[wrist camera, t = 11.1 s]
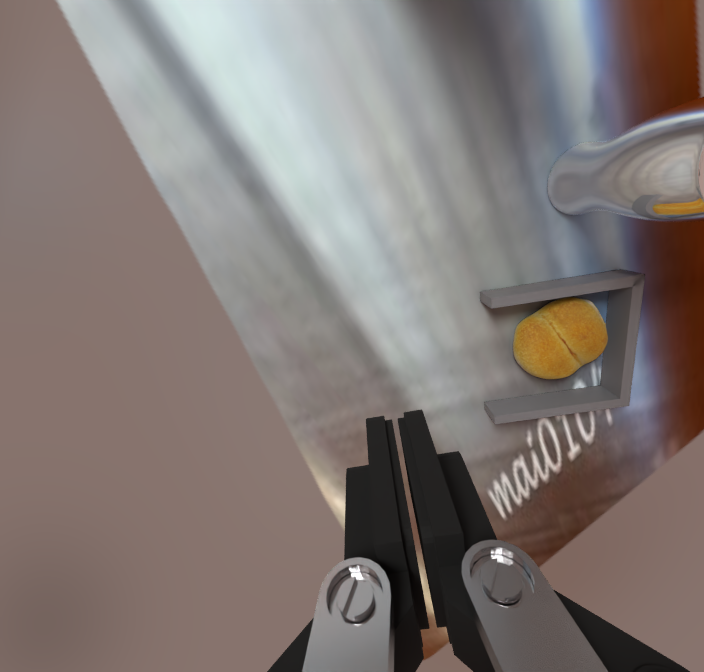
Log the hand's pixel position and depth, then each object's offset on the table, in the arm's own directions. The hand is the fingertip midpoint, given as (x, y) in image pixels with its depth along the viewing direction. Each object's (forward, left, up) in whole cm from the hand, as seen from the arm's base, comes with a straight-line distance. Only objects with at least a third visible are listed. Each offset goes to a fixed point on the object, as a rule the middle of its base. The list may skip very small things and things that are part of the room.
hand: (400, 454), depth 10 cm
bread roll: (+9, +19, -26) cm, 34 cm away
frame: (+10, +18, -26) cm, 33 cm away
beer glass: (-6, +21, -26) cm, 34 cm away
